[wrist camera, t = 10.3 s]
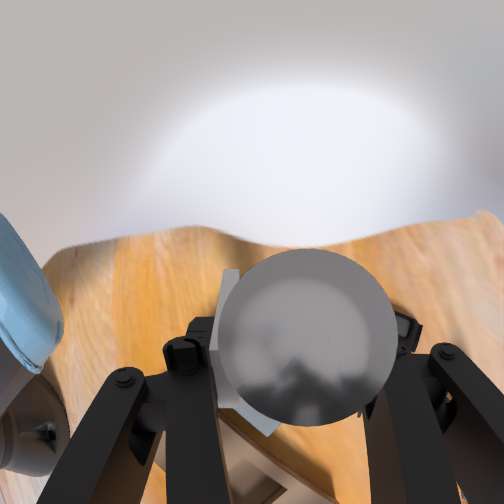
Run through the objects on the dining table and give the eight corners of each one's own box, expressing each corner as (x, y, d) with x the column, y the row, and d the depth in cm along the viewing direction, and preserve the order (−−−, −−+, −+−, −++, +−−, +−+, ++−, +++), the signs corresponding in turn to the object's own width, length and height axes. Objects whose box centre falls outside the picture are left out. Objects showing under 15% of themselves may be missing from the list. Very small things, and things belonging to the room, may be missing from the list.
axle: (235, 375, 19) (179, 338, 5) (271, 337, 20) (299, 219, 6) (275, 409, 18) (320, 461, 4) (310, 370, 19) (425, 319, 5)
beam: (145, 434, 25) (132, 438, 22) (194, 387, 28) (187, 387, 24) (283, 543, 19) (286, 557, 16) (335, 498, 21) (344, 509, 18)
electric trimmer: (306, 275, 34) (310, 264, 31) (420, 327, 30) (433, 320, 27) (293, 303, 32) (296, 294, 29) (411, 356, 28) (424, 352, 26)
